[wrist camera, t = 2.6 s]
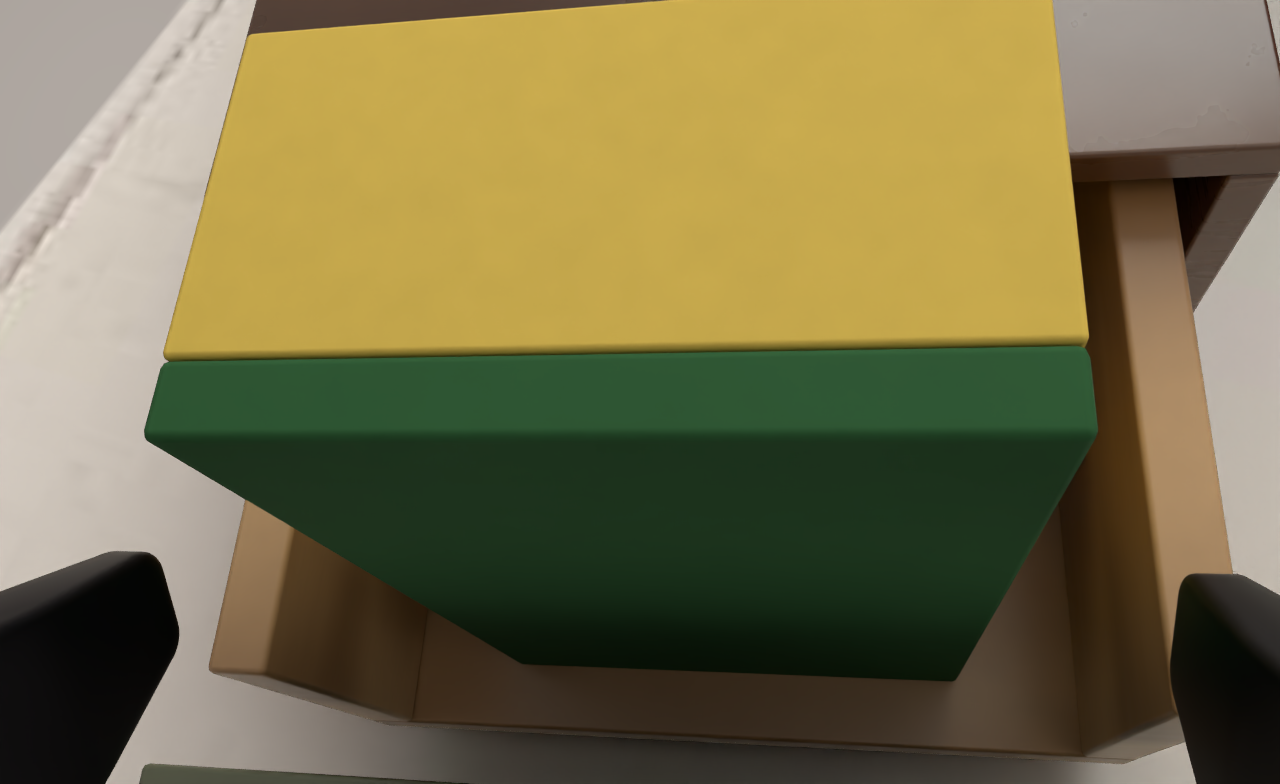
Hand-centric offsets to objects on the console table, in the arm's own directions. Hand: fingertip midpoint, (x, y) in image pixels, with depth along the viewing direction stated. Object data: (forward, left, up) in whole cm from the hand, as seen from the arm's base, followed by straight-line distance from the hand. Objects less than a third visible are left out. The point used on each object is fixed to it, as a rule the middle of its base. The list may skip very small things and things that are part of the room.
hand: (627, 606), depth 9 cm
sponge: (+2, +2, -8) cm, 9 cm away
